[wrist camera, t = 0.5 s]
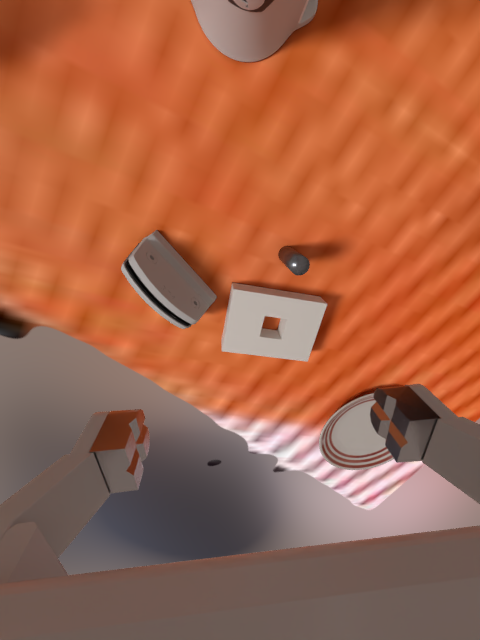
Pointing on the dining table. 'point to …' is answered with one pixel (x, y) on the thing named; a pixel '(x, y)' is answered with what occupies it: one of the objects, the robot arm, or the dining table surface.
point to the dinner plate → (353, 437)
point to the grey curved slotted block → (167, 281)
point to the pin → (294, 260)
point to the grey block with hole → (257, 302)
